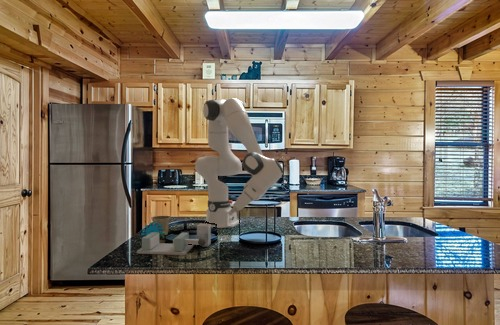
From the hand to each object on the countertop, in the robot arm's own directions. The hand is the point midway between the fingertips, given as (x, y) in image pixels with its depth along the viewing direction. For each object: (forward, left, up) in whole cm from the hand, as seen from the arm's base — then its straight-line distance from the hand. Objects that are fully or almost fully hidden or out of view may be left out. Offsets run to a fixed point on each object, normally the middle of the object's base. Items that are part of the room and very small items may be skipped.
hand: (231, 212), depth 142 cm
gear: (+10, -37, -15) cm, 41 cm away
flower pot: (+1, -41, -15) cm, 44 cm away
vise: (+19, -20, -15) cm, 31 cm away
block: (+5, -11, -15) cm, 19 cm away
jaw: (+14, -10, -13) cm, 22 cm away
